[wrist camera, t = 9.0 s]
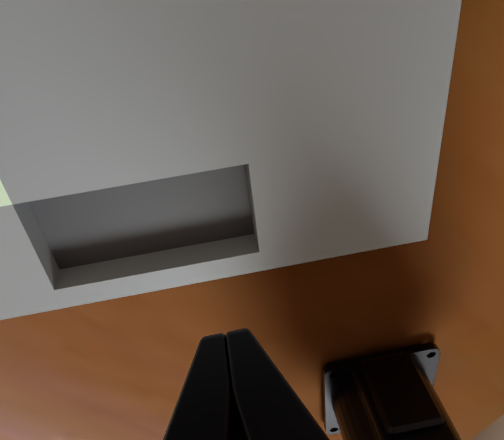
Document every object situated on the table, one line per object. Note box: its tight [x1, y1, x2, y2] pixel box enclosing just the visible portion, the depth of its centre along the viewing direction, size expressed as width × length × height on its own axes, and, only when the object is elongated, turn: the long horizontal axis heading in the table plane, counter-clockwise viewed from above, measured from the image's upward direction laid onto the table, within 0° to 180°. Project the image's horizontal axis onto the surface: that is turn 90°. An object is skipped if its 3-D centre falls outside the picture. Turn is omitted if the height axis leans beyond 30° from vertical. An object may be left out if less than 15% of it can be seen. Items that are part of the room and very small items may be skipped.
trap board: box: [0, 0, 462, 320], centre depth 14 cm, size 18×22×2 cm
